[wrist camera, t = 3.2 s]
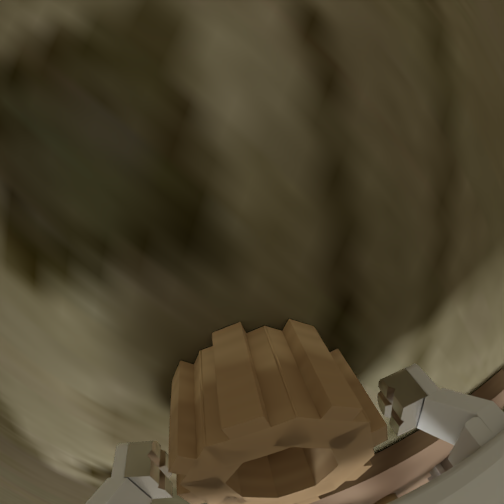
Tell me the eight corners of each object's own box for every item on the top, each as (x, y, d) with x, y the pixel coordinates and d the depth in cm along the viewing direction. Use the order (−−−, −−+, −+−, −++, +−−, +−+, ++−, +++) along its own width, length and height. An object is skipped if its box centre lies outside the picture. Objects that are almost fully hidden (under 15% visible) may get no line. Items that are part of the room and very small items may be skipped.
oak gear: (217, 453, 12) (227, 524, 8) (138, 358, 10) (121, 451, 6) (351, 404, 12) (388, 469, 8) (320, 288, 10) (380, 364, 6)
